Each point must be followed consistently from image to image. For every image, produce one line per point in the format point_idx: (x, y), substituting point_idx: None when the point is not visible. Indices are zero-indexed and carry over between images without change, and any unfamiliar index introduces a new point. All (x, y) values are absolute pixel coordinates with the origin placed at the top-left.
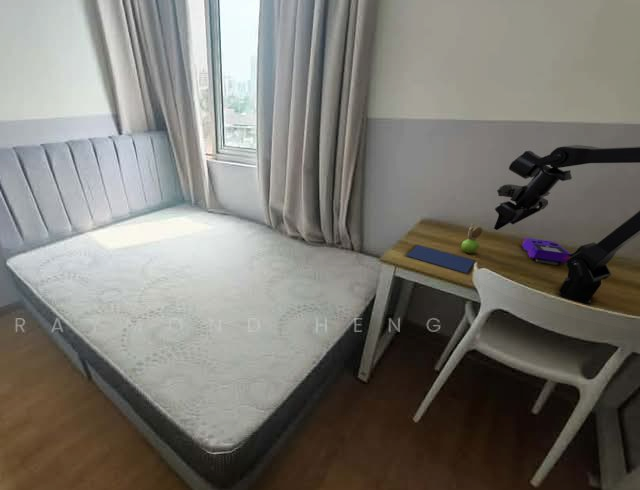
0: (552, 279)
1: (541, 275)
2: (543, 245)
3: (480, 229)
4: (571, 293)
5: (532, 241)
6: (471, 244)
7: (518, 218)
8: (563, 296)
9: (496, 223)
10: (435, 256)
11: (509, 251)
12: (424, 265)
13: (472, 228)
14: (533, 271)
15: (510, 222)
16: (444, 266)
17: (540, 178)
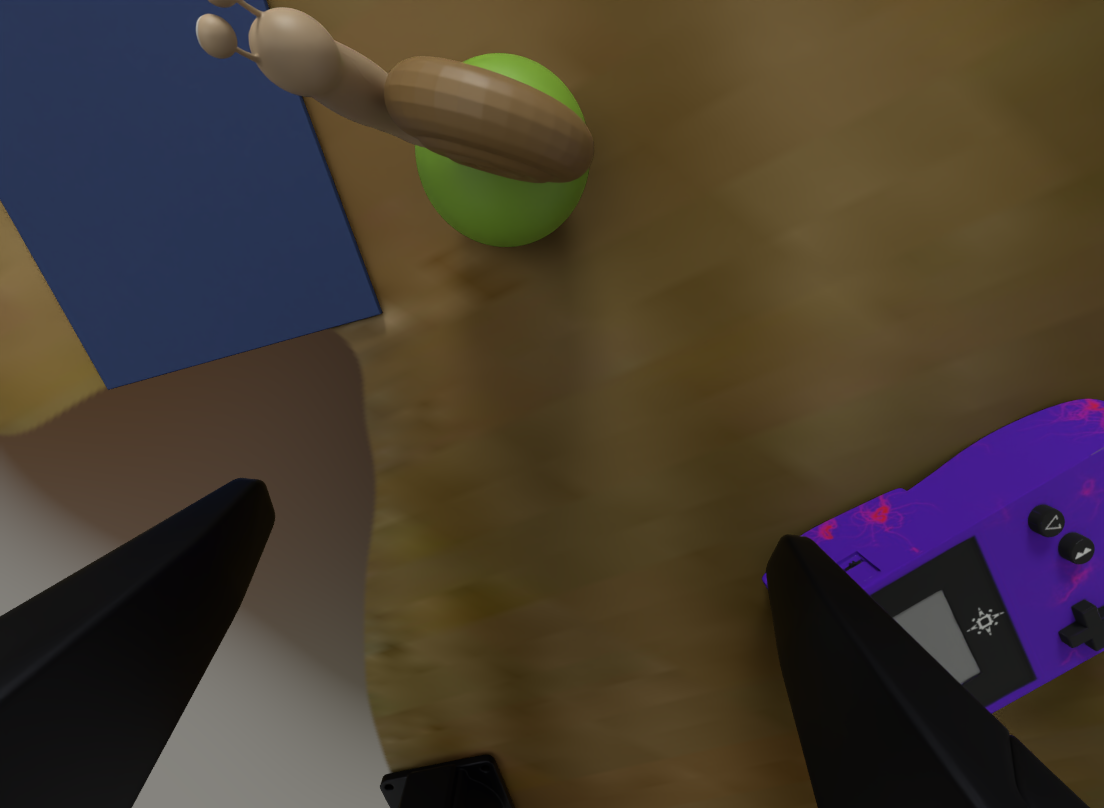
0: (565, 701)
1: (568, 655)
2: (993, 595)
3: (509, 159)
4: None
5: (1039, 513)
6: (430, 188)
7: (828, 723)
8: (384, 788)
9: (100, 570)
10: (89, 22)
11: (841, 387)
12: None
13: (276, 78)
14: (588, 613)
15: (786, 540)
16: (12, 217)
17: None
